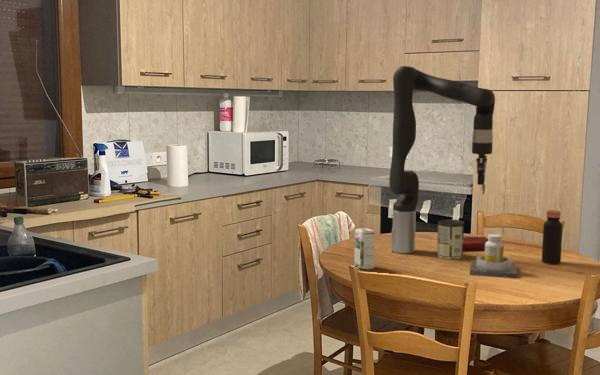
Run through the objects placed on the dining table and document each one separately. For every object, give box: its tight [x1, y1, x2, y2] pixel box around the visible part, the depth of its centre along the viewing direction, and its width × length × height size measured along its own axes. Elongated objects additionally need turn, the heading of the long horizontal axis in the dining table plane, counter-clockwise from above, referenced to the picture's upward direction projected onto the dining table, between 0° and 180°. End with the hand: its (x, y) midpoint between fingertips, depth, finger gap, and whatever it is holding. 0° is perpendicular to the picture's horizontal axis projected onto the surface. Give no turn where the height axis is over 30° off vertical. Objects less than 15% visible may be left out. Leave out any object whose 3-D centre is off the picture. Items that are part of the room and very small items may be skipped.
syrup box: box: [353, 227, 376, 270], centre depth 238 cm, size 6×6×14 cm
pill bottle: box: [484, 233, 505, 262], centre depth 234 cm, size 6×6×12 cm
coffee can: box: [436, 218, 465, 260], centre depth 256 cm, size 10×10×14 cm
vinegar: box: [541, 209, 563, 265], centre depth 245 cm, size 7×7×20 cm
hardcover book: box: [436, 235, 489, 252], centre depth 271 cm, size 12×21×4 cm, turn 94°
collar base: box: [469, 254, 518, 279], centre depth 234 cm, size 16×16×4 cm
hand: (480, 183), depth 247 cm, fingers open, 8 cm apart
